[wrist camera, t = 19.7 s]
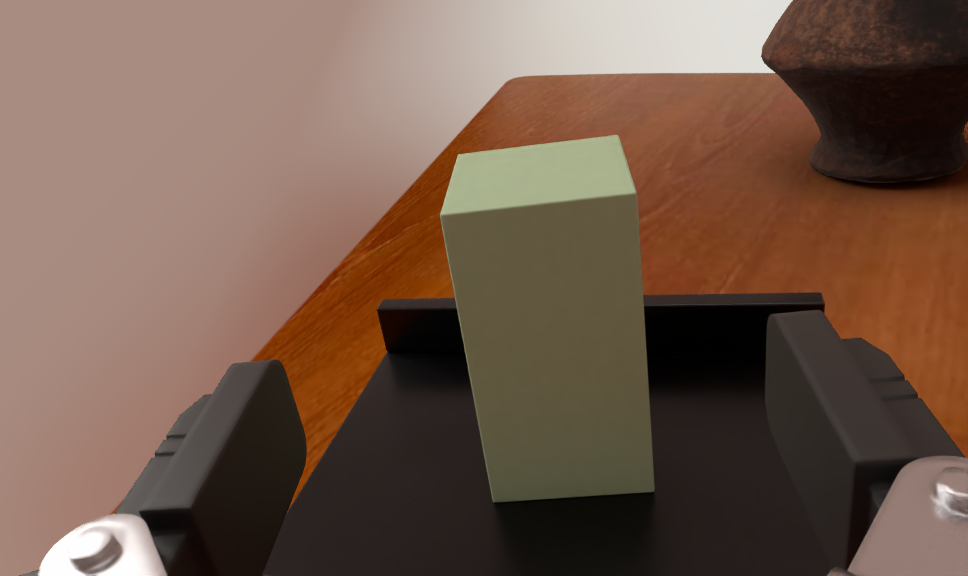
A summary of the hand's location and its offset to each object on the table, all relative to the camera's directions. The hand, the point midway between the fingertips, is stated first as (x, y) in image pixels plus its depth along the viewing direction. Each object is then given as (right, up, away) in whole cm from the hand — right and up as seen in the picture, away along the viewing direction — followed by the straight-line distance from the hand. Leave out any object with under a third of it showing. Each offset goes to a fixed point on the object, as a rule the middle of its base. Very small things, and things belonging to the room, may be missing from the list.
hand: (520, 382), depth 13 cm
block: (+2, -3, +11) cm, 12 cm away
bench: (+3, -10, +15) cm, 18 cm away
